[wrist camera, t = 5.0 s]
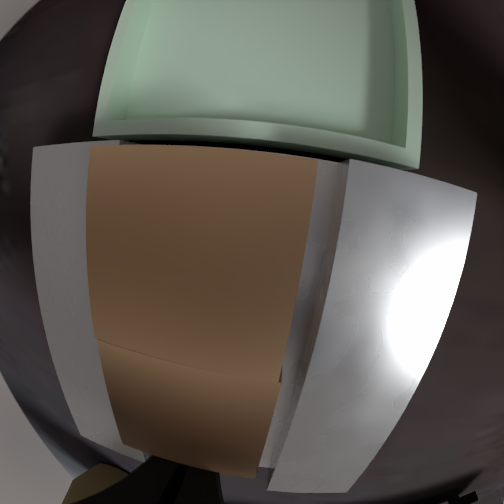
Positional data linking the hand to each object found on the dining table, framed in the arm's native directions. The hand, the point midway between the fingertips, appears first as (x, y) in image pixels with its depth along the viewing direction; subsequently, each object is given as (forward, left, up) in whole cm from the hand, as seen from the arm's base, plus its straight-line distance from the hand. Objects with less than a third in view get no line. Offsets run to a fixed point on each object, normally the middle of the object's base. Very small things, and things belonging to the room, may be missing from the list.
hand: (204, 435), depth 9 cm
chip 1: (+5, -6, -1) cm, 8 cm away
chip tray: (+10, -12, -4) cm, 17 cm away
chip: (+2, -3, -1) cm, 4 cm away
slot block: (+2, -2, -4) cm, 5 cm away
